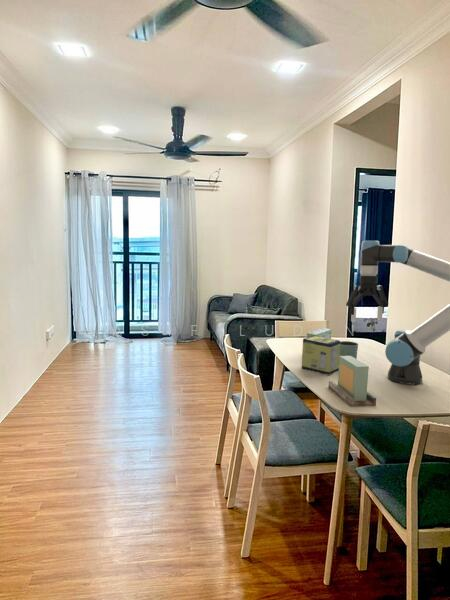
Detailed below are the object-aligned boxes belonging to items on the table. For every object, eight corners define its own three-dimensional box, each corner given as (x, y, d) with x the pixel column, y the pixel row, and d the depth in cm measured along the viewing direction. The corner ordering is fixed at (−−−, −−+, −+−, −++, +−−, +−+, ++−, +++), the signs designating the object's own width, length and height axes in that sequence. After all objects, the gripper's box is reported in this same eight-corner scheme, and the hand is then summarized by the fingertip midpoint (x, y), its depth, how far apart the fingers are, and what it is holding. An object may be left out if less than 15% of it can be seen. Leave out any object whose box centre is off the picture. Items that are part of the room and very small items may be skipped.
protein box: (310, 364, 224) (312, 335, 222) (338, 370, 215) (340, 340, 213) (300, 368, 216) (302, 338, 214) (329, 375, 207) (331, 343, 205)
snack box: (314, 362, 229) (315, 334, 227) (304, 360, 233) (306, 332, 231) (330, 354, 246) (332, 328, 244) (321, 352, 249) (322, 327, 247)
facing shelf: (350, 386, 191) (351, 380, 190) (375, 405, 169) (376, 398, 169) (327, 387, 189) (328, 380, 189) (350, 406, 168) (350, 399, 167)
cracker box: (366, 400, 172) (368, 366, 170) (353, 400, 171) (356, 366, 169) (348, 387, 187) (350, 355, 186) (337, 387, 187) (339, 355, 185)
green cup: (357, 369, 218) (359, 346, 217) (337, 367, 220) (338, 344, 219) (355, 363, 228) (357, 341, 227) (336, 362, 230) (337, 340, 228)
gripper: (387, 274, 202) (385, 318, 204) (339, 274, 195) (337, 320, 198) (397, 275, 194) (395, 321, 197) (348, 275, 188) (346, 323, 191)
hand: (366, 321), depth 198 cm, fingers open, 13 cm apart
